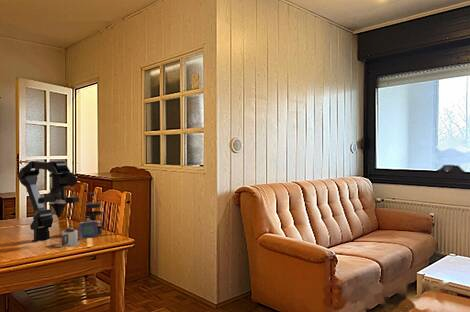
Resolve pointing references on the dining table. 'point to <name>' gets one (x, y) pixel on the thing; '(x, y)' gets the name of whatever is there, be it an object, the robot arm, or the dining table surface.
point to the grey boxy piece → (69, 237)
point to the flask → (88, 229)
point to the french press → (95, 213)
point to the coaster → (68, 246)
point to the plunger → (69, 229)
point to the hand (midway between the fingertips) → (58, 217)
